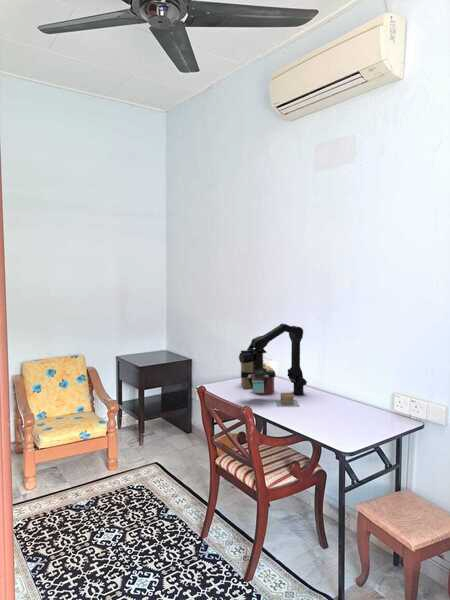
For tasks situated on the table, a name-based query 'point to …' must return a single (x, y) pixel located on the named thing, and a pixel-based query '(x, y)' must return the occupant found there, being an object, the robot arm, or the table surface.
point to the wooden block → (248, 367)
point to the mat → (279, 404)
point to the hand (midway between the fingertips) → (258, 389)
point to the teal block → (258, 386)
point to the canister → (269, 385)
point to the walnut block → (287, 398)
